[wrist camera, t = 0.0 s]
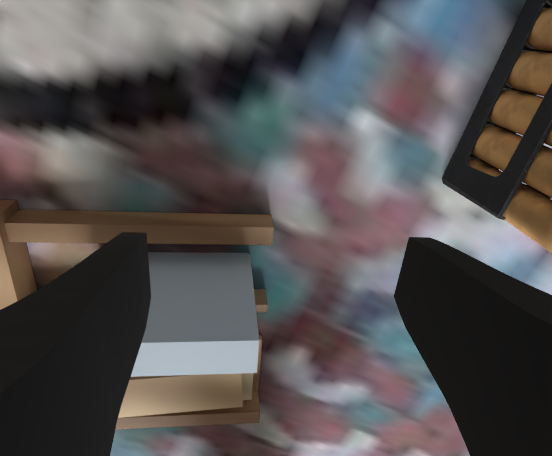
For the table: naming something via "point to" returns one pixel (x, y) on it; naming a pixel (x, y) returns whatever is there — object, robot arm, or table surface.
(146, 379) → the offcut oak
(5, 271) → the rack
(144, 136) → the table surface
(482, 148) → the ammunition clip
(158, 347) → the block
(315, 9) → the table surface
